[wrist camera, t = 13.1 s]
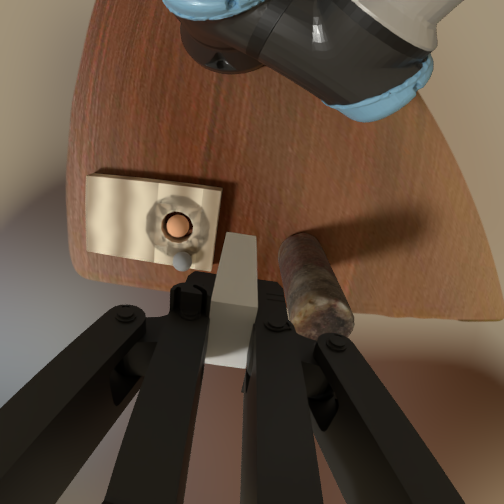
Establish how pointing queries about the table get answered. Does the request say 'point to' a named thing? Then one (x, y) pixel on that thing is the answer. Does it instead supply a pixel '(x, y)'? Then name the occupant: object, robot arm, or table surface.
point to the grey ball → (182, 261)
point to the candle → (312, 289)
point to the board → (150, 218)
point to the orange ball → (177, 225)
